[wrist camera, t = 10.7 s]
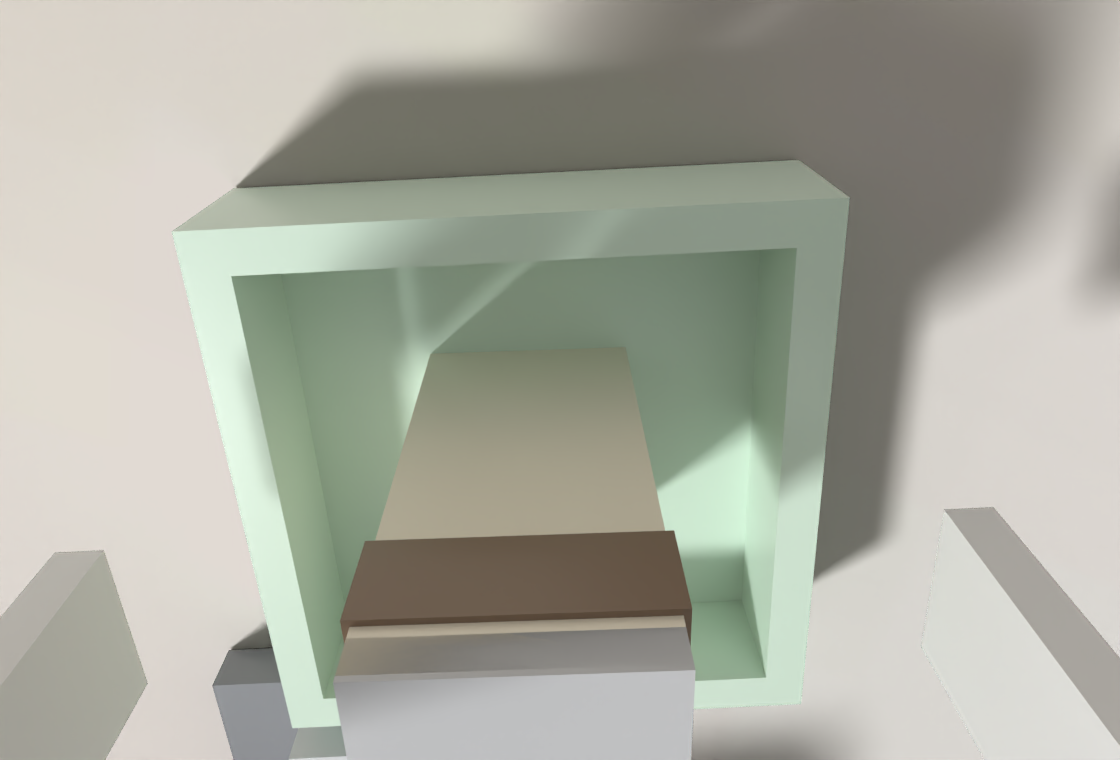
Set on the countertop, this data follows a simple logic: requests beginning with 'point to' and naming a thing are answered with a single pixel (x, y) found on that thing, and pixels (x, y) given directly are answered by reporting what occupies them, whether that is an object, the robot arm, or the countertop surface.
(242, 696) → the block
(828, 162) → the countertop surface
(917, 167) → the countertop surface
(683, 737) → the block
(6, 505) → the countertop surface
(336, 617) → the tray
